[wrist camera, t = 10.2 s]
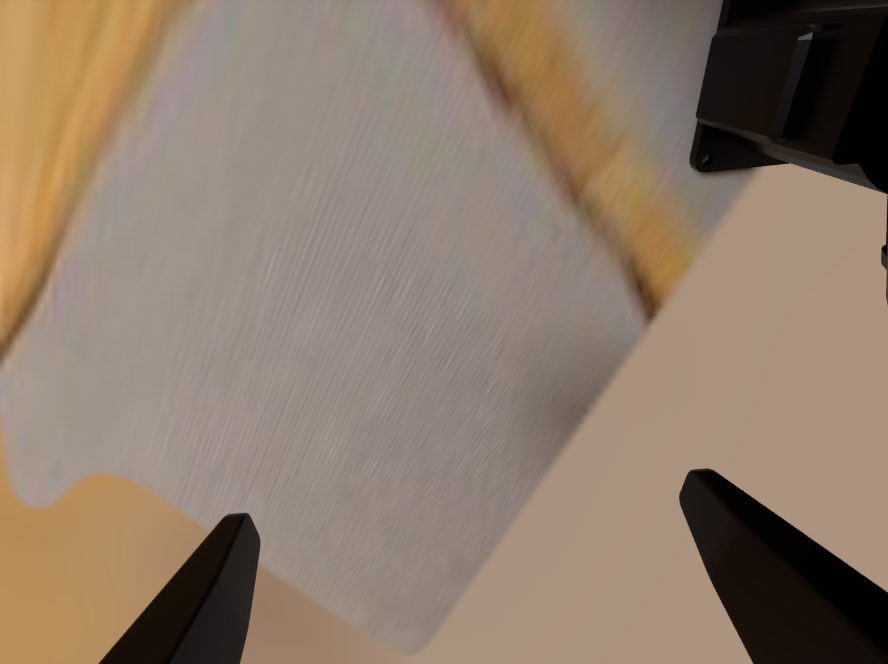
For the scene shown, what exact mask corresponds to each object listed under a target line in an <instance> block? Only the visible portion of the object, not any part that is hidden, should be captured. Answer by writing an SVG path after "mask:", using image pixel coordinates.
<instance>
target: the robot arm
mask: <svg viewBox="0 0 888 664" xmlns="http://www.w3.org/2000/svg"><path fill="white" fill-rule="evenodd" d="M696 117H697V119H698V121H697V126H696V131H695V135H694V140H693V145H692V150H691V154H690V165H691V167H692V168H694V169H695V170H697V171H700V172H714V171H723V170H732V169H742V168H751V167H761V166H770V165H779V164H789V163H791V164H794V165H798V166H801V167H804V168H807V169H810V170H813V171H816V172H820V173H823V174H826V175H829V176H832V177H835V178H839V179H841V180H845V181H848V182H851V183H854V184H857V185H860V186H864V187H867V188H870V189H873V190H876V191H879V192H882V193H885V194H888V0H723V4H722V9H721V14H720V18H719V23H718V28H717V32H716V34H715V35H714V37H713V38H712V41H711V46H710V50H709V55H708V60H707V65H706V69H705V74H704V79H703V84H702V89H701V93H700V98H699V103H698V108H697V112H696ZM708 152H709V157H708V159H707V160H706V161H705V162H704V163H702V158H703V156H704V155H705V154H706V153H708ZM881 252H882V253H881V262H882V265H883V266H884V267H885V269H887V287H886V298H887V303H888V199H887V232H886V245H884V246H883V247H882V251H881ZM679 500H680V505H681V508H682V511H683V513H684V515H685V518H686V520H687V523H688V526H689V528H690V531H691V533H692V536H693V538H694V541H695V543H696V546H697V548H698V551H699V553H700V556H701V558H702V561H703V563H704V566H705V568H706V571H707V573H708V575H709V577H710V580H711V582H712V584H713V586H714V588H715V590H716V592H717V594H718V596H719V598H720V600H721V602H722V604H723V606H724V608H725V609H726V611H727V613H728V615H729V617H730V619H731V621H732V623H733V625H734V627H735V629H736V631H737V633H738V635H739V637H740V639H741V641H742V643H743V645H744V647H745V648H746V650H747V652H748V654H749V656H750V658H751V660H752V662H753V664H888V592H886V591H885V590H884V589H882V588H881V587H879V586H878V585H876V584H875V583H873V582H872V581H871V580H869V579H868V578H867V577H865V576H863V575H862V574H861V573H859V572H858V571H857V570H855V569H854V568H852V567H851V566H849V565H848V564H847V563H845V562H844V561H842V560H841V559H840V558H838V557H837V556H835V555H834V554H832V553H831V552H829V551H828V550H827V549H825V548H824V547H822V546H821V545H820V544H818V543H817V542H815V541H814V540H812V539H811V538H810V537H808V536H807V535H805V534H804V533H802V532H801V531H799V530H798V529H797V528H795V527H794V526H792V525H791V524H790V523H788V522H787V521H785V520H784V519H782V518H781V517H780V516H778V515H777V514H775V513H774V512H772V511H771V510H770V509H768V508H767V507H765V506H764V505H762V504H761V503H759V502H758V501H757V500H755V499H754V498H752V497H751V496H750V495H748V494H747V493H745V492H744V491H743V490H741V489H740V488H738V487H737V486H735V485H734V484H733V483H731V482H730V481H728V480H727V479H725V478H724V477H723V476H721V475H720V474H718V473H717V472H715V471H714V470H711V469H695V470H691V471H689V473H688V474H687V476H686V479H685V482H684V484H683V486H682V489H681V491H680V495H679ZM259 552H260V537H259V534H258V532H257V529H256V527H255V525H254V523H253V521H252V519H251V517H250V515H249V514H247V513H236V514H229V515H227V516H225V517H224V518H223V519H222V520H221V521H220V522H219V523H218V524H217V526H216V527H215V528H214V529H213V530H212V531H211V533H210V534H209V535H208V536H207V537H206V539H205V540H204V541H203V542H202V543H201V544H200V545H199V547H198V548H197V549H196V550H195V551H194V552H193V554H192V555H191V556H190V557H189V558H188V559H187V561H186V562H185V563H184V564H183V565H182V567H181V568H180V569H179V570H178V571H177V572H176V574H175V575H174V576H173V577H172V578H171V579H170V581H169V582H168V583H167V584H166V585H165V586H164V588H163V589H162V590H161V591H160V592H159V593H158V595H157V596H156V597H155V598H154V599H153V600H152V602H151V603H150V604H149V605H148V606H147V608H146V609H145V610H144V611H143V612H142V613H141V614H140V616H139V617H138V618H137V619H136V620H135V622H134V623H133V624H132V625H131V626H130V627H129V629H128V630H127V631H126V632H125V633H124V634H123V636H122V637H121V638H120V639H119V640H118V642H117V643H116V644H115V645H114V646H113V647H112V648H111V650H110V651H109V652H108V653H107V654H106V655H105V657H104V658H103V659H102V660H101V661H100V663H99V664H240V661H241V657H242V653H243V649H244V645H245V640H246V636H247V631H248V626H249V620H250V614H251V607H252V600H253V593H254V586H255V580H256V573H257V565H258V559H259Z"/></svg>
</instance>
